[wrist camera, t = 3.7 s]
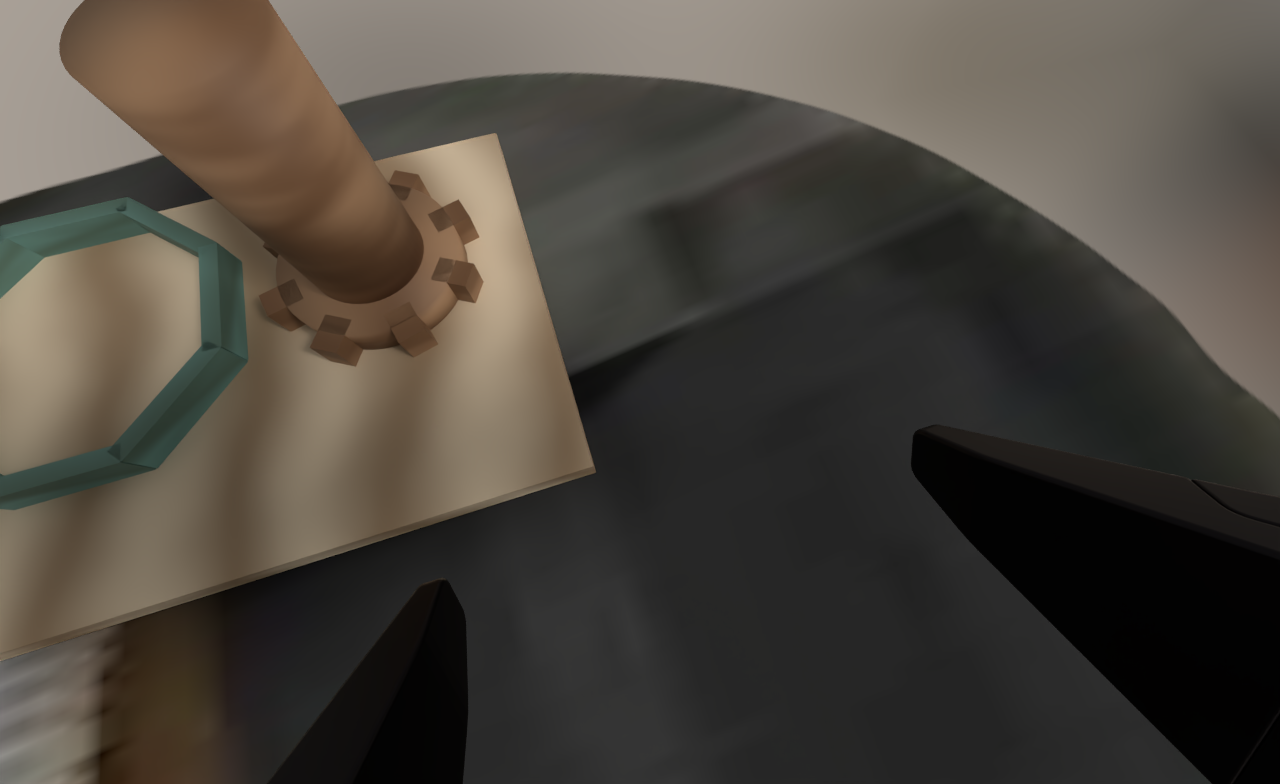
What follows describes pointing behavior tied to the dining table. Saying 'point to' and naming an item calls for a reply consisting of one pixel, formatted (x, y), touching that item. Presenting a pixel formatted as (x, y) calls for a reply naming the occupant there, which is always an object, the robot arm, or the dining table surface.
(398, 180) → the gear
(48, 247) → the gear board
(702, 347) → the dining table surface
